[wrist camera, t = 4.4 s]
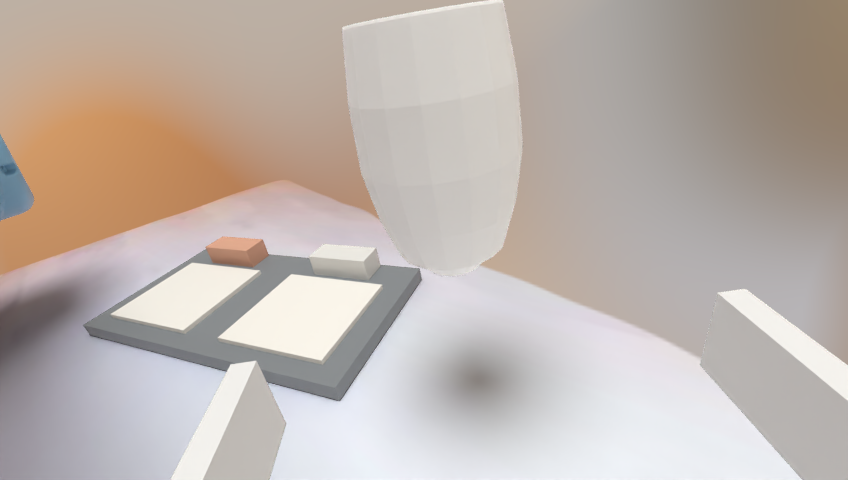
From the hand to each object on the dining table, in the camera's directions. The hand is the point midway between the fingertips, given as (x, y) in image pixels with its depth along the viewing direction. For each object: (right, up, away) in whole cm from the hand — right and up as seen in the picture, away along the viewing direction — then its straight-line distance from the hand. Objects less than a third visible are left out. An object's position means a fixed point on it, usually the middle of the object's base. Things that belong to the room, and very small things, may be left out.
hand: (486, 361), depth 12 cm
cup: (+1, -6, +13) cm, 15 cm away
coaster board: (-17, -3, +25) cm, 31 cm away
